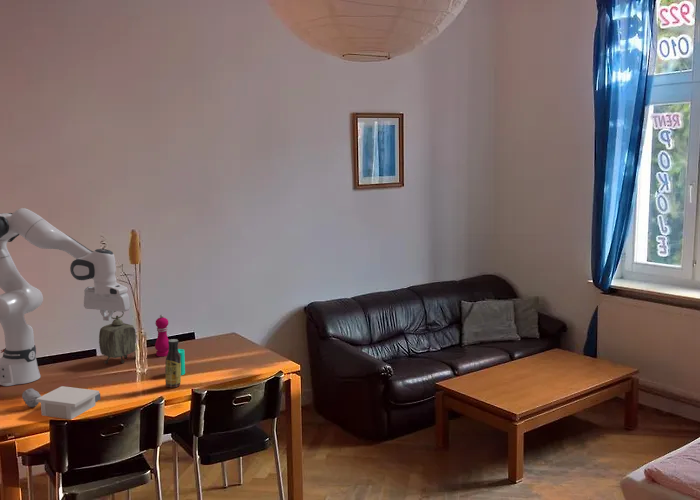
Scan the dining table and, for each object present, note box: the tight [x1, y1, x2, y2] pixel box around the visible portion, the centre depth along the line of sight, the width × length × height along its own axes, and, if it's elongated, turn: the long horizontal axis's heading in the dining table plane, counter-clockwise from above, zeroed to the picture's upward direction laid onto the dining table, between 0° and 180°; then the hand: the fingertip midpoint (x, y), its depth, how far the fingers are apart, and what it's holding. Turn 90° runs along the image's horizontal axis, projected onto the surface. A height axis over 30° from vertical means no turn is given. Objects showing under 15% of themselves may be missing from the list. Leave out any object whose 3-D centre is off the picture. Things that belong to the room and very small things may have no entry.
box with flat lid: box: [36, 385, 100, 420], centre depth 252 cm, size 17×14×6 cm
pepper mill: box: [154, 314, 170, 357], centre depth 320 cm, size 7×7×20 cm
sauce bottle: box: [164, 338, 182, 389], centre depth 278 cm, size 7×6×20 cm
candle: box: [178, 348, 186, 376], centre depth 294 cm, size 6×6×12 cm
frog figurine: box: [21, 388, 42, 408], centre depth 256 cm, size 6×7×7 cm
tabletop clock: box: [98, 311, 137, 365], centre depth 307 cm, size 14×9×25 cm, turn 145°
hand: (107, 320), depth 279 cm, fingers closed
